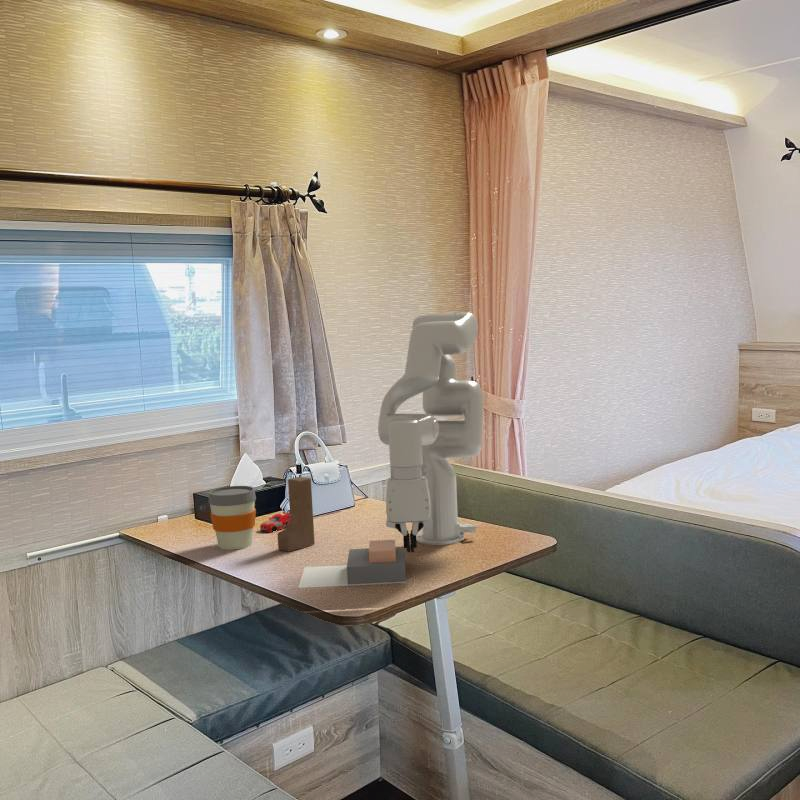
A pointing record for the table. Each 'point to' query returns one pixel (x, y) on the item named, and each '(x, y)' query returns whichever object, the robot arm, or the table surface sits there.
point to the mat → (327, 577)
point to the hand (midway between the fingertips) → (410, 550)
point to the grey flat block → (374, 568)
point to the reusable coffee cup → (233, 515)
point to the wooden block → (298, 516)
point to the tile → (382, 551)
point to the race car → (276, 522)
